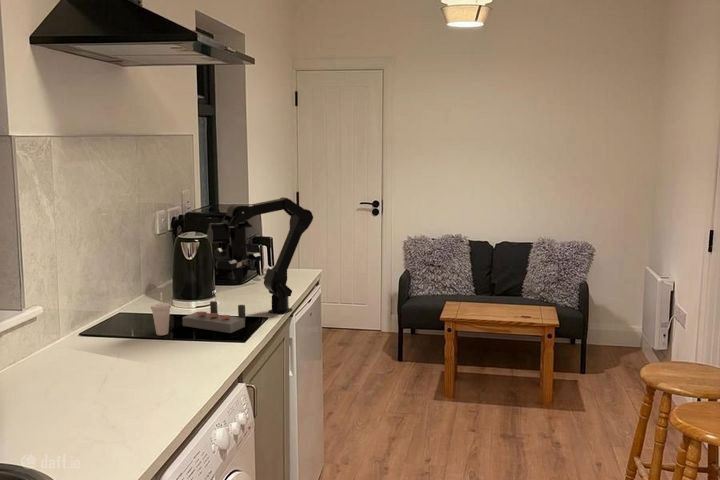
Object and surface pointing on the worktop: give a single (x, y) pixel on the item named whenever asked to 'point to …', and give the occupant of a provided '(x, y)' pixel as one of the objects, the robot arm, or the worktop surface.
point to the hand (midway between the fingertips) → (240, 284)
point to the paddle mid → (213, 315)
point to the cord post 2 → (241, 311)
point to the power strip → (213, 322)
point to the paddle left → (201, 313)
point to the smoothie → (161, 316)
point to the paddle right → (225, 316)
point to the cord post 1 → (213, 307)
